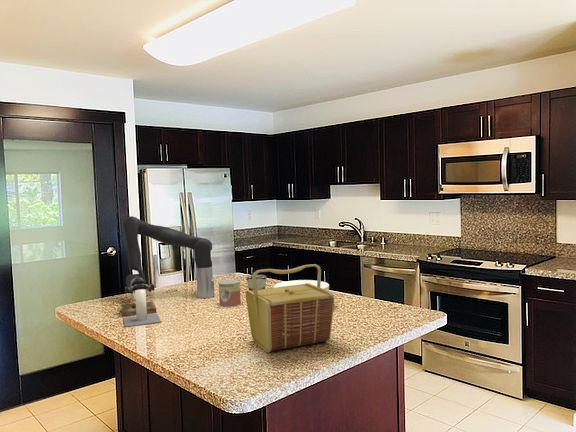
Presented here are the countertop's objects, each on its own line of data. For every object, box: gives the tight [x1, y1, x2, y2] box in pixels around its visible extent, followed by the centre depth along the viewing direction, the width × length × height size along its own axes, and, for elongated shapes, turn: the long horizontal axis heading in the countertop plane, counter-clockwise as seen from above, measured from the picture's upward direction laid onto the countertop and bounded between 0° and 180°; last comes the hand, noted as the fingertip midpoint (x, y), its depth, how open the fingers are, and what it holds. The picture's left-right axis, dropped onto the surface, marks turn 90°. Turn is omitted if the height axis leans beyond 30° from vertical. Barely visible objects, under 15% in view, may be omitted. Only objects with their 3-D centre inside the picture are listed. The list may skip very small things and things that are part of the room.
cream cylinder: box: [134, 289, 148, 321], centre depth 225 cm, size 5×5×14 cm
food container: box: [245, 274, 268, 291], centre depth 279 cm, size 12×6×10 cm, turn 84°
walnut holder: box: [120, 300, 157, 318], centre depth 244 cm, size 16×16×2 cm
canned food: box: [218, 279, 242, 308], centre depth 252 cm, size 11×11×12 cm
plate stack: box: [273, 279, 330, 291], centre depth 240 cm, size 28×28×12 cm
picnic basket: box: [245, 263, 335, 353], centre depth 186 cm, size 29×26×30 cm
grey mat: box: [123, 313, 162, 328], centre depth 225 cm, size 16×16×1 cm
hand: (140, 291), depth 236 cm, fingers open, 8 cm apart
